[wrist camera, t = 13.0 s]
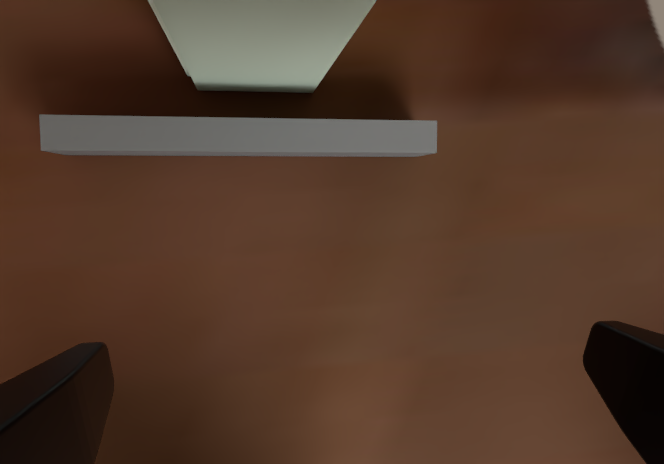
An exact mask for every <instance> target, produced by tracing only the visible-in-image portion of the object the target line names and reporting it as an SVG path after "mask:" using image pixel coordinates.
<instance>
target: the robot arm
mask: <svg viewBox="0 0 664 464" xmlns="http://www.w3.org/2000/svg"><path fill="white" fill-rule="evenodd" d="M583 364H584V368H585V370H586V372H587V374H588V375H589V377H590V379H591V380H592V382H593V384H594V385H595V387H596V389H597V390H598V392H599V394H600V395H601V397H602V399H603V400H604V402H605V404H606V405H607V407H608V409H609V410H610V412H611V414H612V415H613V417H614V419H615V420H616V422H617V423H618V425H619V427H620V428H621V430H622V431H623V433H624V434H625V435H626V437H627V438H628V440H629V441H630V442H631V444H632V445H633V446H634V448H635V449H636V450H637V452H638V453H639V454H640V456H641V457H642V458H643V460H644V461H645V462H646V464H664V335H663V334H659V333H656V332H653V331H649V330H646V329H642V328H639V327H636V326H632V325H629V324H625V323H622V322H619V321H599V322H596V323H595V324H594V325H593V326H592V328H591V331H590V334H589V338H588V341H587V344H586V347H585V351H584V354H583ZM113 391H114V378H113V373H112V368H111V362H110V357H109V352H108V348H107V346H106V344H105V343H103V342H94V343H81V344H78V345H76V346H74V347H73V348H71V349H69V350H67V351H65V352H63V353H61V354H59V355H57V356H55V357H53V358H51V359H49V360H47V361H45V362H43V363H41V364H39V365H37V366H36V367H34V368H32V369H30V370H28V371H26V372H24V373H22V374H20V375H18V376H16V377H14V378H12V379H10V380H8V381H6V382H4V383H2V384H0V464H94V462H95V459H96V456H97V452H98V448H99V445H100V441H101V437H102V434H103V430H104V426H105V422H106V419H107V415H108V411H109V408H110V404H111V400H112V396H113Z"/></svg>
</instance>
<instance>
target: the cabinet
mask: <svg viewBox="0 0 664 464" xmlns="http://www.w3.org/2000/svg"><path fill="white" fill-rule="evenodd" d="M376 1H377V0H148V2H149V4H150V6H151V8H152V9H153V11H154V13H155V15H156V17H157V19H158V21H159V23H160V25H161V27H162V28H163V30H164V32H165V34H166V36H167V38H168V40H169V42H170V44H171V46H172V47H173V49H174V51H175V53H176V55H177V57H178V59H179V61H180V63H181V65H182V66H183V68H184V70H185V72H186V74H187V76H191V78H192V80H193V82H194V84H195V86H196V88H197V90H208V91H253V92H298V93H313V92H314V90H315V89H316V88H317V86H318V85H319V83H320V82H321V80H322V79H323V77H324V76H325V74H326V73H327V72H328V70H329V69H330V67H331V66H332V64H333V63H334V61H335V60H336V59H337V57H338V56H339V54H340V53H341V51H342V50H343V48H344V47H345V45H346V44H347V43H348V41H349V40H350V38H351V37H352V35H353V34H354V32H355V31H356V30H357V28H358V27H359V25H360V24H361V22H362V21H363V19H364V18H365V16H366V15H367V14H368V12H369V11H370V9H371V8H372V6H373V5H374V3H375V2H376Z"/></svg>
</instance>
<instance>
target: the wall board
mask: <svg viewBox="0 0 664 464" xmlns="http://www.w3.org/2000/svg"><path fill="white" fill-rule="evenodd" d="M39 120H40V139H41V151H46V152H52V153H57V154H62V155H144V156H366V157H417V156H422V155H428V154H433V153H437V121H417V120H354V119H290V118H227V117H164V116H101V115H39Z"/></svg>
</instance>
